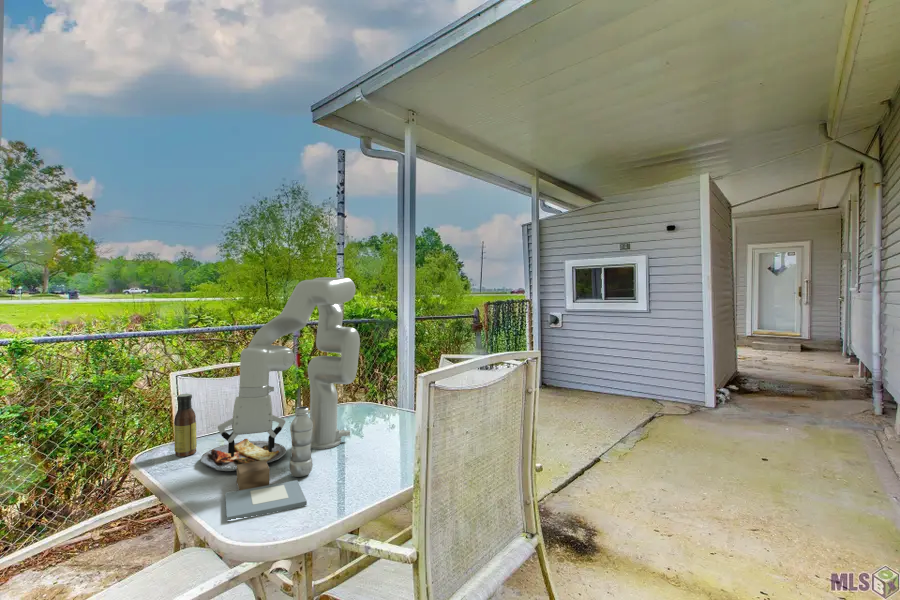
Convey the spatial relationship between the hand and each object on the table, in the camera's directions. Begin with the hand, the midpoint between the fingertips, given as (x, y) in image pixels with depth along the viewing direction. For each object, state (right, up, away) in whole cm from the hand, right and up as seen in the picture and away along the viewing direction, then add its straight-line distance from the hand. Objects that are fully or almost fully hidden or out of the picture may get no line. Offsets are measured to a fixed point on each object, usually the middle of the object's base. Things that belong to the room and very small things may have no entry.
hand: (251, 453), depth 120 cm
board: (+8, -9, -10) cm, 16 cm away
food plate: (-11, -9, +19) cm, 23 cm away
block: (0, -9, +1) cm, 9 cm away
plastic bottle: (+11, -9, +7) cm, 16 cm away
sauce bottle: (-32, -8, +22) cm, 40 cm away
